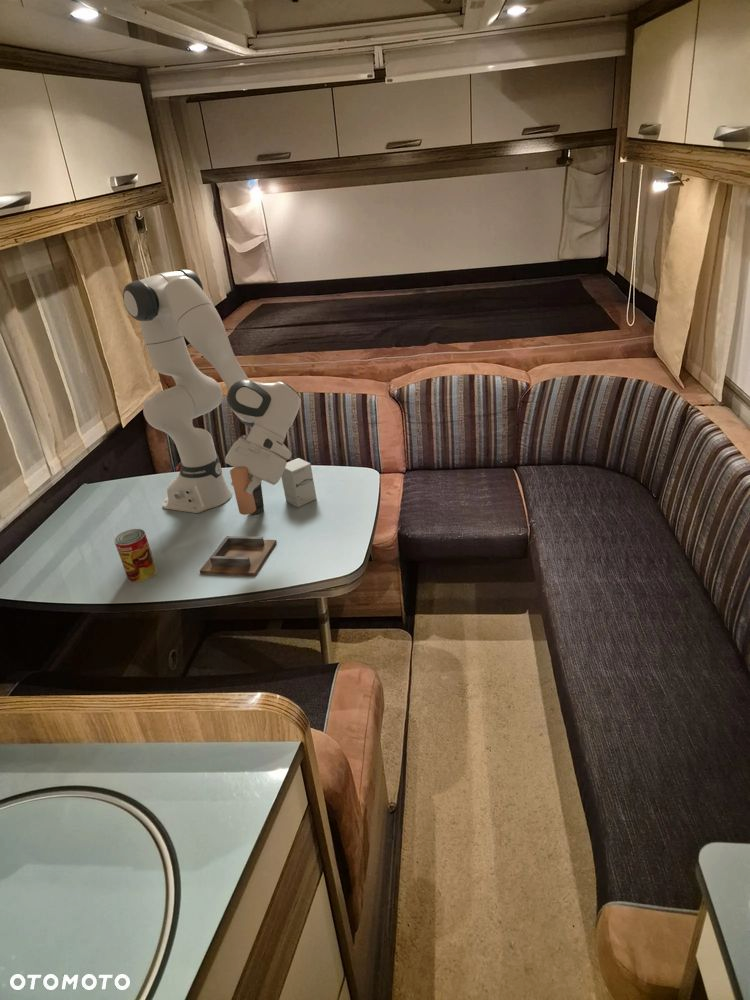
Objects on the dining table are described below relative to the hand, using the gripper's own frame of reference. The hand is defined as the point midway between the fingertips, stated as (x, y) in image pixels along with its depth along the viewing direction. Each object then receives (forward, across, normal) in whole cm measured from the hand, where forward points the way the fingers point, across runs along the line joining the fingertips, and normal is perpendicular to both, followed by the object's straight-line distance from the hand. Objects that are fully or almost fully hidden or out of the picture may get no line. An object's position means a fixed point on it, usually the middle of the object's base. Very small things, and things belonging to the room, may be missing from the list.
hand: (240, 489), depth 166 cm
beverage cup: (+4, -20, +25) cm, 33 cm away
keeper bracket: (+17, -2, +12) cm, 21 cm away
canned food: (+32, -19, -2) cm, 38 cm away
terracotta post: (+4, 0, +5) cm, 7 cm away
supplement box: (-5, -14, +35) cm, 38 cm away
